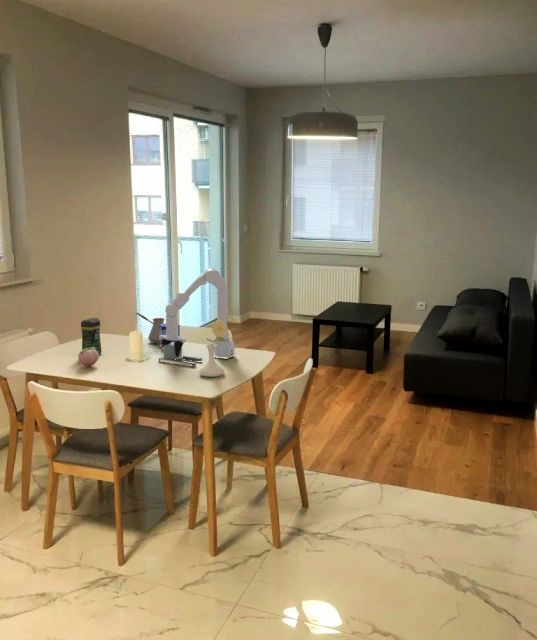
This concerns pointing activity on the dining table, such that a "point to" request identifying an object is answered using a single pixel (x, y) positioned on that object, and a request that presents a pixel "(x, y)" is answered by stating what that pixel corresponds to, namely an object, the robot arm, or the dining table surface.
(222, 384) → the dining table surface
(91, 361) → the decorative fruit
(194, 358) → the price rail
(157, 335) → the coffee pot
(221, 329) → the flower in vase
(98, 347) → the coffee jar
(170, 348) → the carton
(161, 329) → the ink cartridge box
